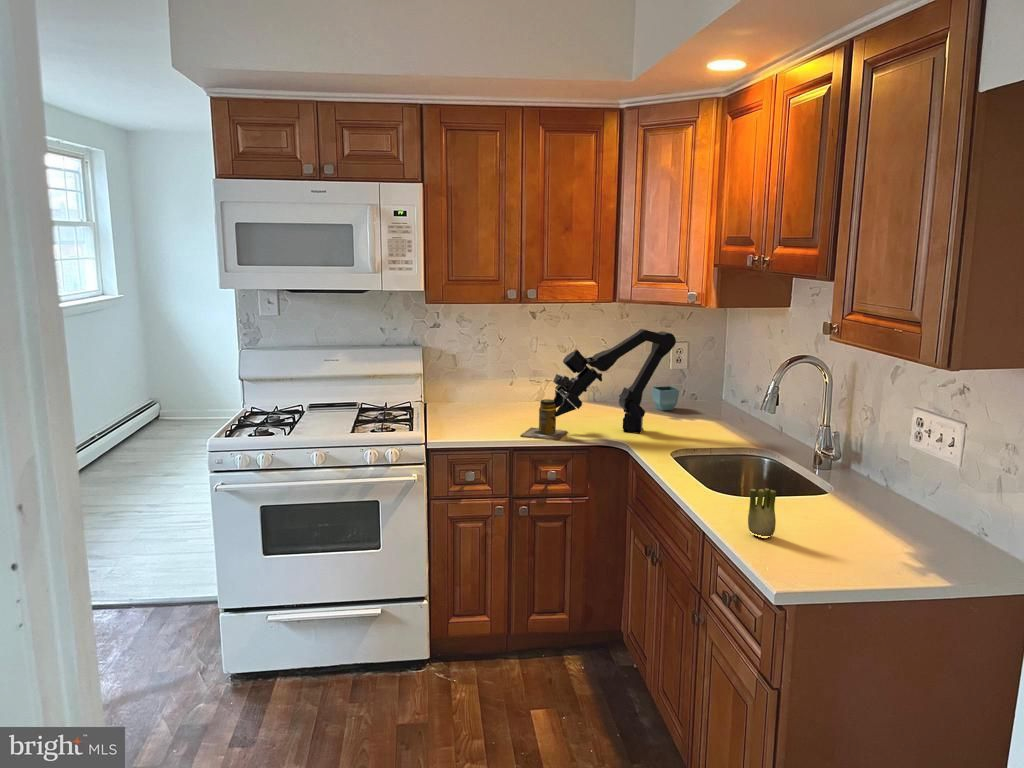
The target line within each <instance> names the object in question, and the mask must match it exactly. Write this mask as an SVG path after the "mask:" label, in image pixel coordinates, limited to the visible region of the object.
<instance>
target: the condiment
mask: <svg viewBox="0 0 1024 768" xmlns="http://www.w3.org/2000/svg"><path fill="white" fill-rule="evenodd" d="M539 406H540V407H539V409H538V428H539V431H531V433H533V434H535V435H538V436H548V435H555V434H560V433H558V432H555V431H556V430H557V428H556V426H557V425H556V423H557V417H556V416H555V415H554V414H555V413H556V411H557V408H555V401H554V399H548V398H547V399H541V400H540V405H539Z"/></svg>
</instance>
